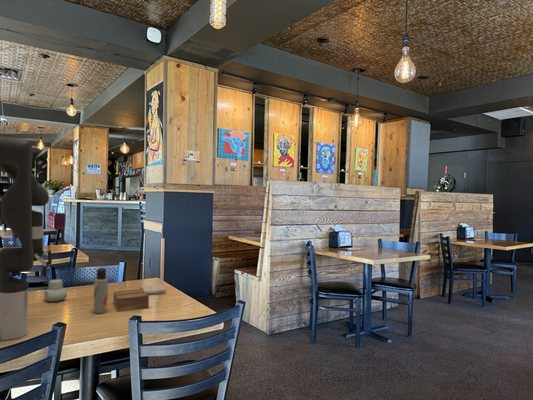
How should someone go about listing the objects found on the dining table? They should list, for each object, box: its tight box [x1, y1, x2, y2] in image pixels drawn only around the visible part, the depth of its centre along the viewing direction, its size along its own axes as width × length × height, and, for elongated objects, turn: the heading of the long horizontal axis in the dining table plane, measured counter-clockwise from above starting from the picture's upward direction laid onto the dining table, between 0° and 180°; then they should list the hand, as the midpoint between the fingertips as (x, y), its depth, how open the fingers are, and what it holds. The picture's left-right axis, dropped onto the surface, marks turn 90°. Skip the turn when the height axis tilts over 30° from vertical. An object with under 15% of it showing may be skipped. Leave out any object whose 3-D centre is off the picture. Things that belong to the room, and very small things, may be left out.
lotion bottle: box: [93, 267, 109, 315], centre depth 170 cm, size 6×6×20 cm
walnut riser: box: [113, 288, 150, 313], centre depth 180 cm, size 14×14×6 cm
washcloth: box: [139, 283, 166, 296], centre depth 209 cm, size 12×18×3 cm, turn 28°
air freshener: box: [43, 278, 68, 303], centre depth 185 cm, size 11×8×10 cm
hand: (31, 275), depth 154 cm, fingers open, 8 cm apart
